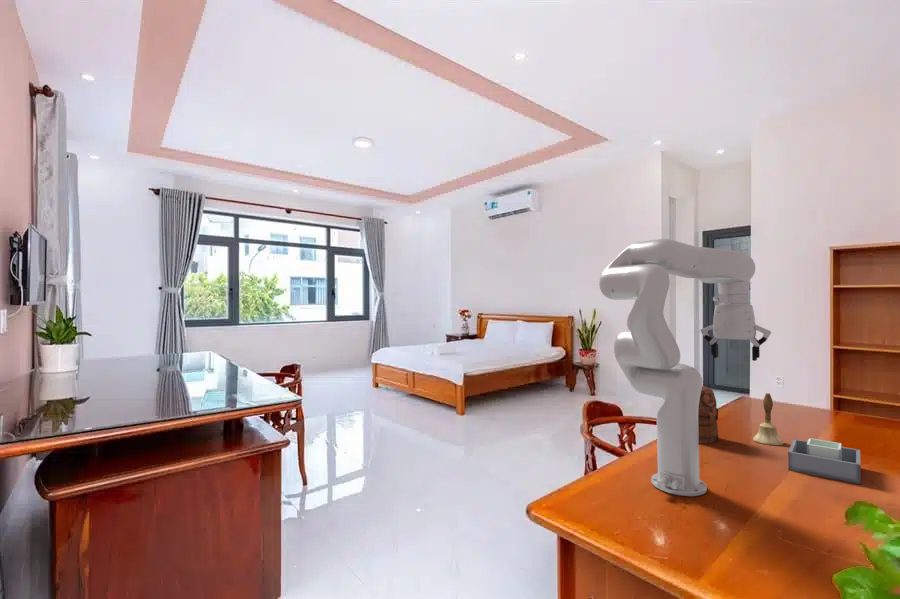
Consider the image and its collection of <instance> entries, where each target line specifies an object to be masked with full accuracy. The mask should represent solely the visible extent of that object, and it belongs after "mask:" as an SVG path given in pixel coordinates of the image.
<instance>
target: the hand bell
mask: <svg viewBox="0 0 900 599" xmlns="http://www.w3.org/2000/svg"><path fill="white" fill-rule="evenodd" d="M764 395H765V396H764V398H763V403H762V406H763V410H764V422H762V423H760V424H759V427H758V432H757V433H756V434H755V435H754V436H753V437H752V440H753V441H754V442H757V443H759V444H763V445H769V446H782V445H784V444H785V443H784V442H783V440H782V439H781V438H780V437H779V434H778V432H777V426H776V425H774V424H773V423H772V416H771V415H772V414H771V413H772V409H773V405H774V403H773V398H772V395H771V393H767V392H766V393H765V394H764Z"/></svg>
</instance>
